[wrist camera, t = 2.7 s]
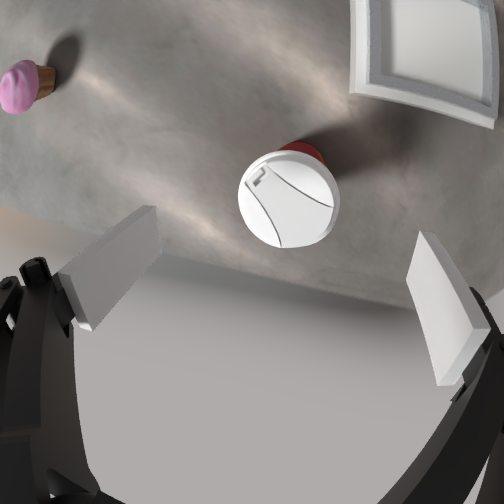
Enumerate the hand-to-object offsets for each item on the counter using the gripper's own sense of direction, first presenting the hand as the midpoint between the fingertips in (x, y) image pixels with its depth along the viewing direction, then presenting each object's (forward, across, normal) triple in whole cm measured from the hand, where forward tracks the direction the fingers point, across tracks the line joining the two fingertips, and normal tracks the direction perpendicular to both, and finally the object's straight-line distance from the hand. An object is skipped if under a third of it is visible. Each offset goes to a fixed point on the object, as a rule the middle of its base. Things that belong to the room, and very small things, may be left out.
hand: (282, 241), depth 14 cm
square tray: (+21, +13, +16) cm, 29 cm away
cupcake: (+21, -40, +15) cm, 48 cm away
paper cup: (+21, -1, -1) cm, 21 cm away
